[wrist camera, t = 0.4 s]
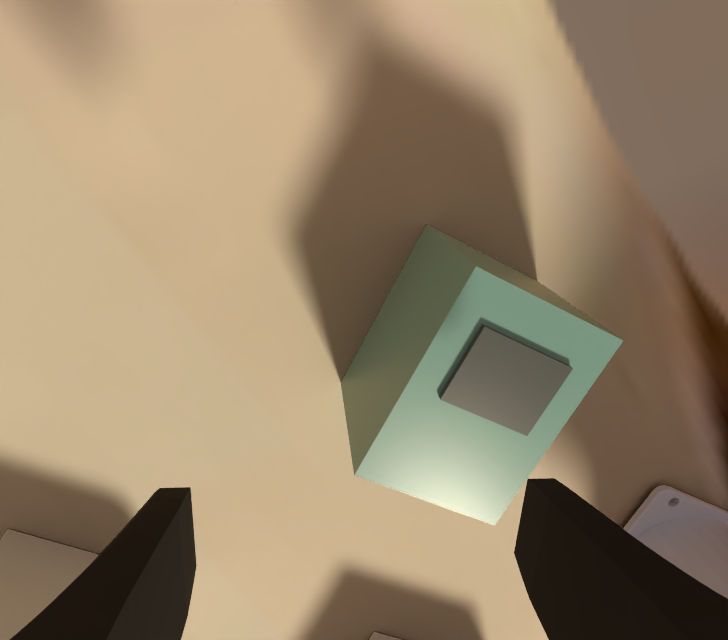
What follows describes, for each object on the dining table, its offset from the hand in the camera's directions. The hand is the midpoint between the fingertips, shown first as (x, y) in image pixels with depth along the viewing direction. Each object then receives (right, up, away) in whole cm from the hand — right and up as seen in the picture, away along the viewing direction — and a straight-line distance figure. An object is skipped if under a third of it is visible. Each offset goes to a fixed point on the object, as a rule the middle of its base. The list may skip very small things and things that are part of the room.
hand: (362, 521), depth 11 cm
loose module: (+3, +4, +10) cm, 11 cm away
